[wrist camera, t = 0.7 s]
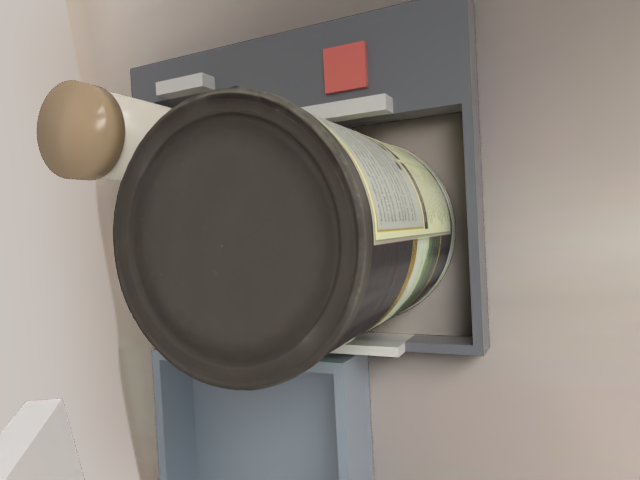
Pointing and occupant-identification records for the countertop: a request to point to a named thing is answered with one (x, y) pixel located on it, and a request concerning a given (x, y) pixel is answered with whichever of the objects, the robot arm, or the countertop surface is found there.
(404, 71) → the grey holder base
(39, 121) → the spice jar
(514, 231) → the countertop surface
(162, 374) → the tray
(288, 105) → the coffee can
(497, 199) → the countertop surface
